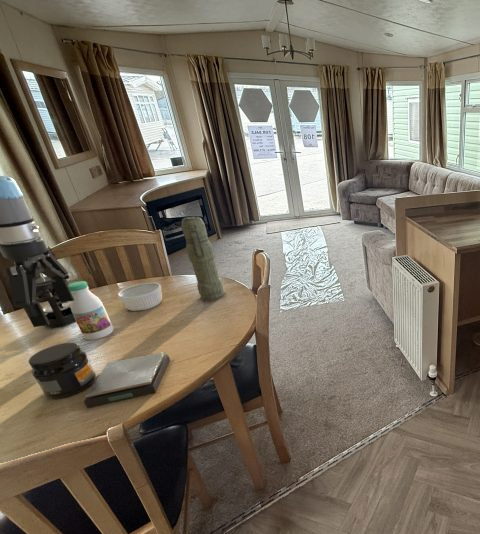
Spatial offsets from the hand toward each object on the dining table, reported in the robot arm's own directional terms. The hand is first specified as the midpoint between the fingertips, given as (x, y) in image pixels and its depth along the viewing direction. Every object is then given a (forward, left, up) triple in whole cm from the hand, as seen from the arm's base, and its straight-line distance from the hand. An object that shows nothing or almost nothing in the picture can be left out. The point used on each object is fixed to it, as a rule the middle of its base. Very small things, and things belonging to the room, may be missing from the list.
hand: (55, 312), depth 93 cm
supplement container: (-1, -6, -22) cm, 22 cm away
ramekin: (+3, +42, -22) cm, 48 cm away
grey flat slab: (+14, -9, -18) cm, 25 cm away
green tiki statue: (+27, +41, -22) cm, 54 cm away
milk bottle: (-5, +23, -22) cm, 32 cm away
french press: (-20, +38, -22) cm, 49 cm away
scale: (+14, -10, -21) cm, 27 cm away
